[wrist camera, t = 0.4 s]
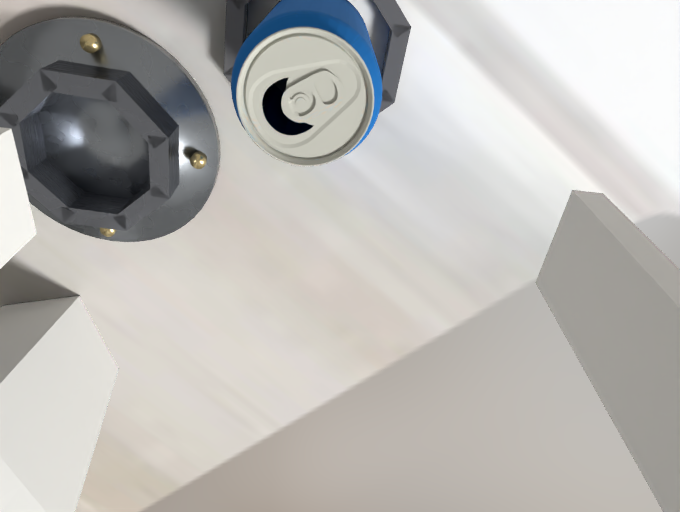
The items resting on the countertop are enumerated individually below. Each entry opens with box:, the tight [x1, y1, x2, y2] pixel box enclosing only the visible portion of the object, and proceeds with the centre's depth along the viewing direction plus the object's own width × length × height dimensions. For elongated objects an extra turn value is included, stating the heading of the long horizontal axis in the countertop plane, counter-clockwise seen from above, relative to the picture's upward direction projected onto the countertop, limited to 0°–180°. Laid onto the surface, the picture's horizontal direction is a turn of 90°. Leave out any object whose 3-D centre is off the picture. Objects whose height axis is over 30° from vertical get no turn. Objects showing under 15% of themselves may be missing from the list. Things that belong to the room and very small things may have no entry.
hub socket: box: [0, 17, 220, 242], centre depth 32 cm, size 15×15×3 cm
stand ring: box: [224, 0, 411, 113], centre depth 30 cm, size 10×10×1 cm
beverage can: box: [231, 0, 382, 166], centre depth 25 cm, size 6×6×12 cm
